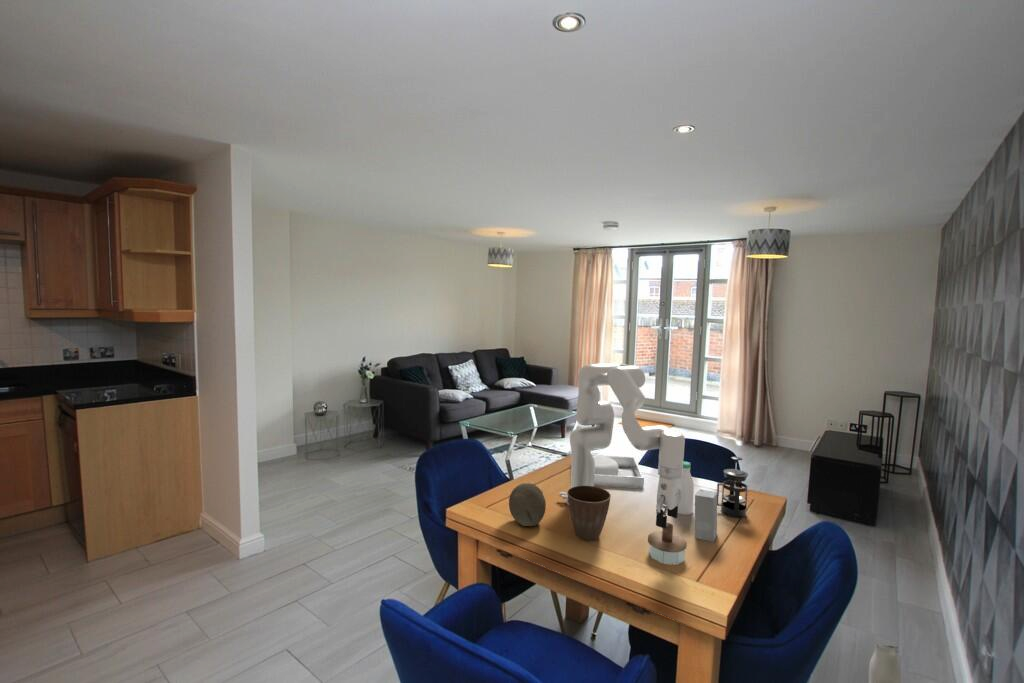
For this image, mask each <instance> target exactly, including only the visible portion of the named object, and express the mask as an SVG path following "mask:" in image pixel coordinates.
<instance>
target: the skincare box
mask: <svg viewBox="0 0 1024 683" xmlns="http://www.w3.org/2000/svg"><path fill="white" fill-rule="evenodd" d="M717 533H718V506H717V491H712V490H705V489H701V488H700V489H698V491H696V494H695V495H694V538H695V539H698V540H704V541H707V542H711V543H714V542H715V539H716V537H717Z"/></svg>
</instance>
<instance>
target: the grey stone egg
mask: <svg viewBox="0 0 1024 683" xmlns="http://www.w3.org/2000/svg"><path fill="white" fill-rule="evenodd" d="M508 507H509V512H510V514H511V516H512V518H513V519H514V520H515V521H516V522H517V523H518V524H519V525H521V526H522V527H525V526H529V527H534V526H537V525H539V524H540V523H541V521H542V520H543V518H544V516H545V513H546V507H547V504H546V498H545V496H544V494H543V491H542V489H541V488H539V486H537V485H536V484H534V483H528V482H525V483H520V484H518V485H516V486H515V487H514V488H513V490H512V491H511V493H510V495H509V498H508Z"/></svg>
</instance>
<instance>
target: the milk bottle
mask: <svg viewBox="0 0 1024 683" xmlns="http://www.w3.org/2000/svg"><path fill="white" fill-rule="evenodd" d="M691 465H692V464H691V462H690V461H689V462H688V461H684V460H683V474H682V478H681V479H682V493H681V502H680V503H679V504H678V514H679V515H684V516H685V515H691V514H692V513H693V511H694V510H693V509H694V494H695V493H694V492H695V491H694V490H695V489H694V488H695V484H694V479H693V477H692V475H691V469H692V468H691Z"/></svg>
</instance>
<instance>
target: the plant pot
mask: <svg viewBox="0 0 1024 683" xmlns="http://www.w3.org/2000/svg"><path fill="white" fill-rule="evenodd" d="M566 493H568V502H569V505H568V507H569V513H570V514H569V515H570V518H571V522H572V523H571V524H572V525H573V529H574V532H575V535H576V537H577V538H578V537H579V538H578V539H580V540H582V539H583V540H582V541H586V540H587V542H594V541H596V540H598V539H599V538H600V536H601V533H602V531H603V529H604V526H605V523H606V520H607V516H608V512H609V508H610V502H611V497H612V495H611V493H610V492H609V491H607V490H606V489H604V488H601V487H598V486H595V485H594V486H577V487H573V488H571V487H570V488H569V489H568V490H567V492H566ZM593 540H594V541H593Z"/></svg>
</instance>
